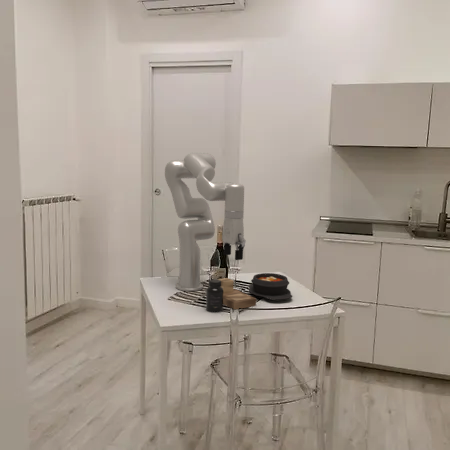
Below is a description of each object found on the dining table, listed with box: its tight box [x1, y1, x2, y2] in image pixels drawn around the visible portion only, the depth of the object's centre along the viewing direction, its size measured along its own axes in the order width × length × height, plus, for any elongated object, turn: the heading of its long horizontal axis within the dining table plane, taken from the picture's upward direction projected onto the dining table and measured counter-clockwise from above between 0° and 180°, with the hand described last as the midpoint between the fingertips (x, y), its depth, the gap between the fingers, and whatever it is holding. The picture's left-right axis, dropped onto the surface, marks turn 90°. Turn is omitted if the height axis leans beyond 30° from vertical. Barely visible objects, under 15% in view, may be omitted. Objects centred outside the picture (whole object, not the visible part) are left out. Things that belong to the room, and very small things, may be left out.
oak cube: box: [217, 277, 235, 293], centre depth 203 cm, size 5×5×5 cm
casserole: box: [248, 272, 293, 301], centre depth 209 cm, size 25×19×8 cm
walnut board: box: [223, 288, 257, 310], centre depth 198 cm, size 18×11×3 cm, turn 33°
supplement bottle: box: [205, 278, 224, 313], centre depth 187 cm, size 7×7×12 cm
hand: (232, 257), depth 188 cm, fingers open, 9 cm apart
